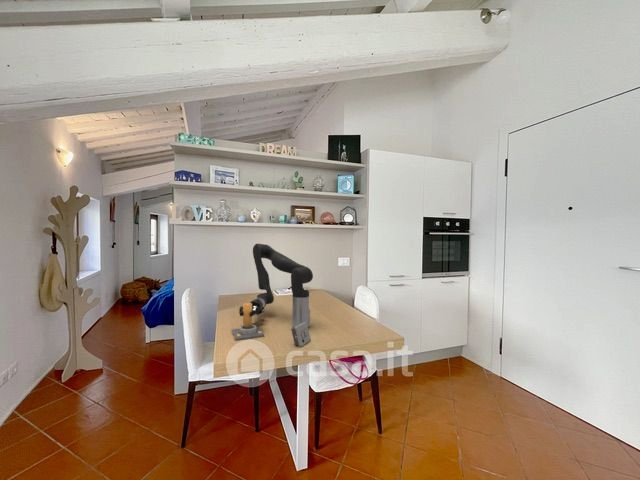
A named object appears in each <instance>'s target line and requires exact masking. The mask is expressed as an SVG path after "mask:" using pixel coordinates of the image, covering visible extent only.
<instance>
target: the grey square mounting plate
mask: <svg viewBox="0 0 640 480" xmlns="http://www.w3.org/2000/svg"><path fill="white" fill-rule="evenodd" d="M231 332H232V336H233V339H234V341H235V342H237V341H242V340H243V341H244V340H250V339H259V338H263V337H264V338H265V333H264V332H263V330H262V329H261V328H260V326H259V325H256V324H252V325H251V326H243V325H240V327H238V328H233V329H231Z"/></svg>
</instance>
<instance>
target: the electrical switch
mask: <svg viewBox="0 0 640 480" xmlns="http://www.w3.org/2000/svg"><path fill="white" fill-rule="evenodd" d="M291 335H292V338H293V343H294V346H299V348H301V347H303V346H305V345H307V344H308V343H309V342H311V340H312V339H311V334H310V330H309V327H308V325H307V322H304V323H302V324H300V325H298V326H296V327H294V328H293V327H292V328H291Z"/></svg>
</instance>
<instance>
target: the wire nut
mask: <svg viewBox="0 0 640 480" xmlns="http://www.w3.org/2000/svg"><path fill="white" fill-rule="evenodd" d="M242 305H243V306H242V307H243V316H242V318H243V319H242V322H243V323H242V326H251V325H253V316H252V317H250V312H251V311H252V303H250V302H244V303H243V304H242Z"/></svg>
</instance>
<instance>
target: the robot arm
mask: <svg viewBox="0 0 640 480" xmlns="http://www.w3.org/2000/svg"><path fill="white" fill-rule="evenodd" d="M252 255H253V259H254V265H255V267H256V268H255V269H256V272H257V284H258V289H259V290H261V291H266V292H264V293H258V294H257V296H256V298H254V299H253V300H251V301H250V302H249V303H252V311H251V312H250V317H252V318H253V316H256V315H257V316H259V315H262V314H263V313H265V307H267V305H270V304H273V303H274V301H275V300H274V299H275V297H274V293H273V292H272V289H271V285H270V284H271V283H270V282H271V281H270V276H269V272H268V271H267V269H266V268H265V265H264V262H263V260H262V259H267V260H269V261H270V263H271V264H272V266H273V267H274V268H275V269H277V270H278V271H280V272H283V273H287V274H290V281H291V282H290V285H291V286H290V287H291V293H292V311H291V312H292V315H291V316H292V317H291V318H292V319H291V320H292V323H291V326H292V328H294V327H296V326H298V325H300V324H302V323H304V322H307V325H308V328H310V327H311V309H310V291H309V290H307V289H305V288H304V284H308V283H311V281H313V278H314V273H313V271H312V270H311V268H310V267H308V266H305V265H303V264H300V263H298V262H296V261H294V260H293V259H292V258H289V257H288V256H287V255H284V254H282V253H281V252H279V251H277V250H275V249H274V248H273V247H272V246H270V245H269V244H264V243H255V244H254V245H253V247H252ZM238 310H239V311H238V312H239V313H238V314H239V316H240V317H243V306H242V305H241V306H239V309H238Z"/></svg>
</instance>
